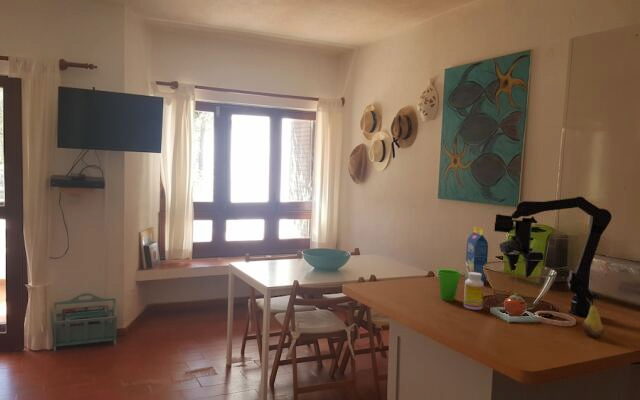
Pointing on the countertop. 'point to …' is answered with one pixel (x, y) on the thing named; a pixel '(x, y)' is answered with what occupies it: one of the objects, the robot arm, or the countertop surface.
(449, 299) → the cup
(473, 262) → the blue food package
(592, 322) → the fruit
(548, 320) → the saucer ring
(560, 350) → the countertop surface
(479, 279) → the supplement bottle
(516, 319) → the tray
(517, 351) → the countertop surface
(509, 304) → the tomato
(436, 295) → the countertop surface
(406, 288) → the countertop surface
